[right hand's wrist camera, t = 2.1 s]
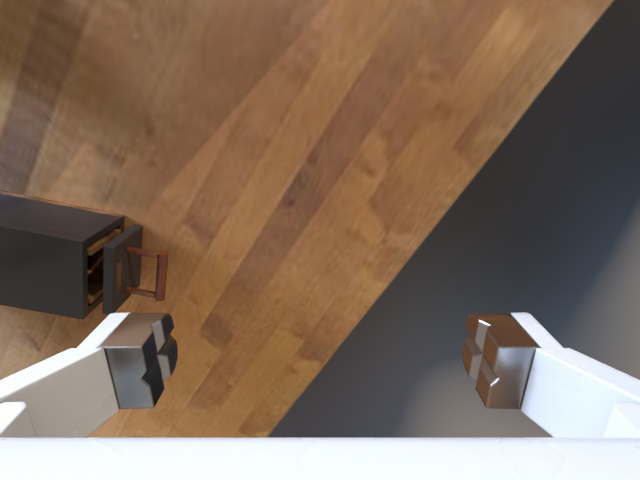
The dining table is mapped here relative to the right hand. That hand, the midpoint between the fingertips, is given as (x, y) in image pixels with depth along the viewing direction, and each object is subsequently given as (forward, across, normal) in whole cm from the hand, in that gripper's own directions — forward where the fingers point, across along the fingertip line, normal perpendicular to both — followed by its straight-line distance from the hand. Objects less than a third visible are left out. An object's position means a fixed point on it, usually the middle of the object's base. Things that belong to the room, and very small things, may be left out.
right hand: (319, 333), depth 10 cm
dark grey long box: (+41, +39, +12) cm, 58 cm away
